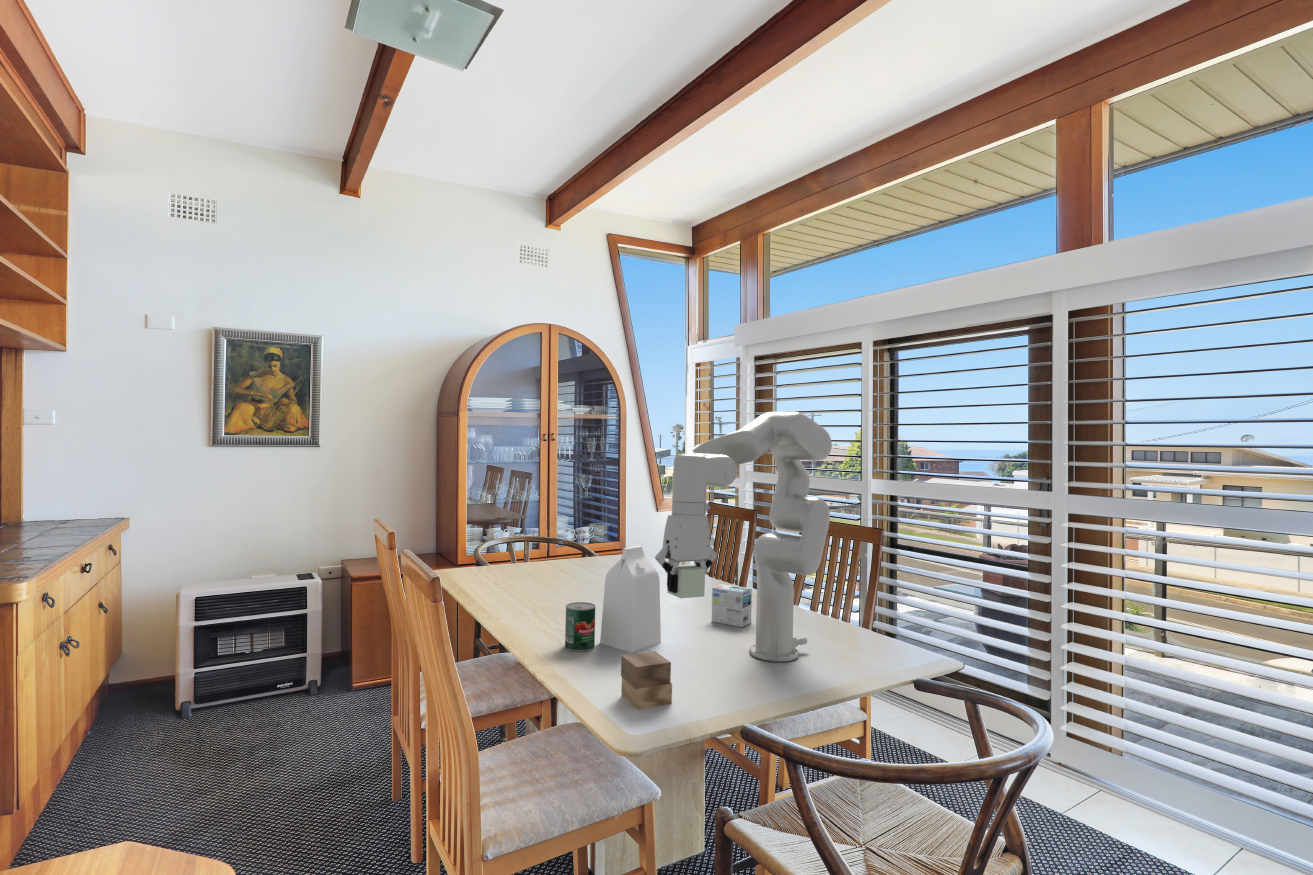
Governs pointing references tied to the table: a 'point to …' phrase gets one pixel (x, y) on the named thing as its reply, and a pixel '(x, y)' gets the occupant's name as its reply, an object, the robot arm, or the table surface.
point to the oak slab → (647, 695)
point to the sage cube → (690, 581)
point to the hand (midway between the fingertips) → (685, 589)
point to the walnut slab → (645, 669)
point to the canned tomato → (580, 626)
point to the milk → (631, 603)
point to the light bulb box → (731, 605)
